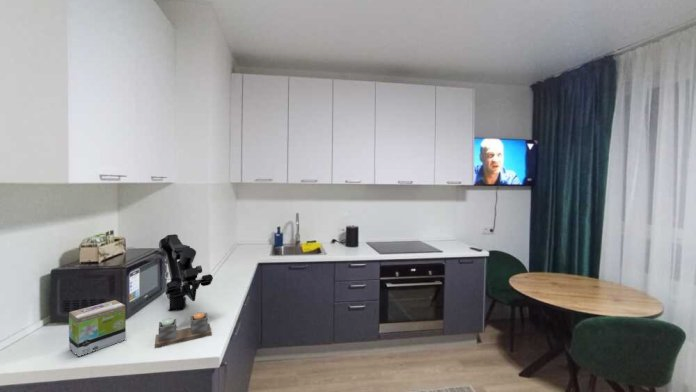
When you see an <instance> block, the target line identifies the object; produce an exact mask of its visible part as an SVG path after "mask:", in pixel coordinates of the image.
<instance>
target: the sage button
mask: <svg viewBox="0 0 696 392" xmlns="http://www.w3.org/2000/svg"><path fill="white" fill-rule="evenodd" d="M174 319H175V318H173V317H167V318H164V319H162V320H161V321H160V322H161V323H162V327H165V326H170V325H174Z"/></svg>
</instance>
